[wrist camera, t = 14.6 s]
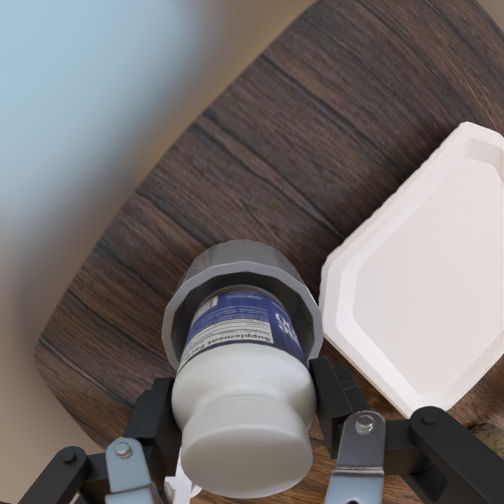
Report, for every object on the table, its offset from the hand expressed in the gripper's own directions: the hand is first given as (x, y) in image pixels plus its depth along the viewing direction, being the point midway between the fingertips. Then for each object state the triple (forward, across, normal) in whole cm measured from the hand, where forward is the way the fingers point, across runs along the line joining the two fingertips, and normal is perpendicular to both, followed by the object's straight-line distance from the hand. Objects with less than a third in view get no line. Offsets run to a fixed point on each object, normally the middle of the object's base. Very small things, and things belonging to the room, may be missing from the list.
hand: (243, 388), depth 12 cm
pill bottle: (+6, 0, 0) cm, 6 cm away
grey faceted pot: (+9, 0, 0) cm, 9 cm away
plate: (+9, -17, +2) cm, 20 cm away
